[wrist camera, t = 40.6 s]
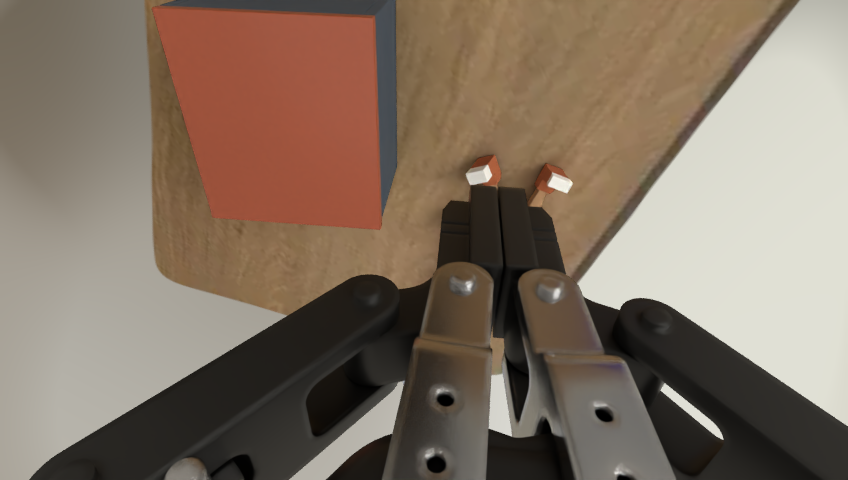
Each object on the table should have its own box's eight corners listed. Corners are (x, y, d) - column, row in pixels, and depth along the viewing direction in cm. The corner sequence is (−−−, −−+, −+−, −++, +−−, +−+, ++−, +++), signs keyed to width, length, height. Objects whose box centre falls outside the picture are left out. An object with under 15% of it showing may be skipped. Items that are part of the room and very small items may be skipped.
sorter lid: (382, 224, 36) (380, 230, 36) (216, 212, 37) (212, 218, 36) (375, 15, 27) (373, 17, 27) (158, 5, 28) (150, 7, 27)
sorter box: (397, 166, 43) (382, 217, 36) (257, 157, 44) (216, 205, 37) (395, -7, 34) (375, 14, 27) (221, -14, 35) (158, 4, 28)
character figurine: (605, 196, 39) (514, 341, 48) (590, 175, 44) (509, 311, 52) (478, 148, 38) (408, 307, 46) (475, 131, 42) (411, 279, 51)
